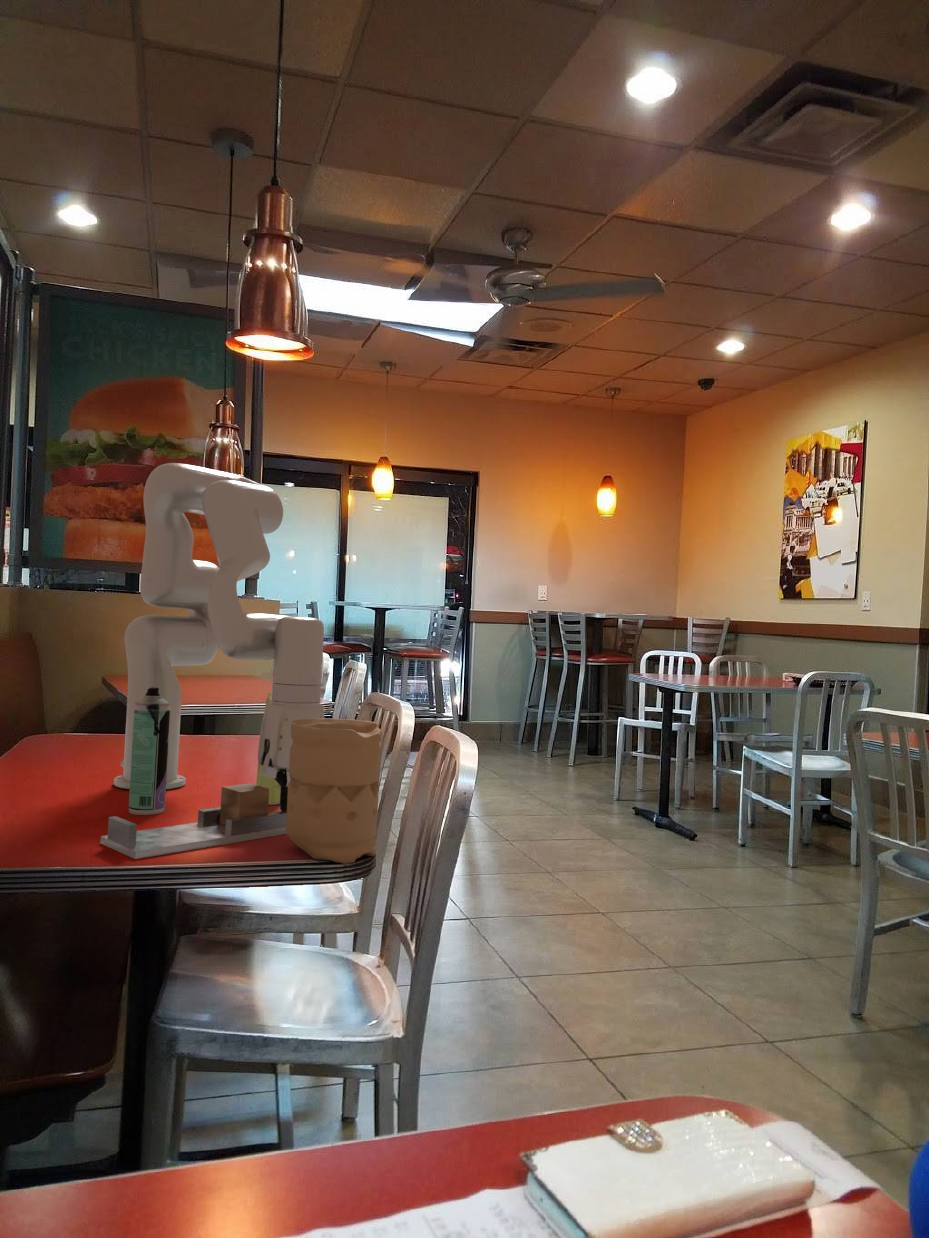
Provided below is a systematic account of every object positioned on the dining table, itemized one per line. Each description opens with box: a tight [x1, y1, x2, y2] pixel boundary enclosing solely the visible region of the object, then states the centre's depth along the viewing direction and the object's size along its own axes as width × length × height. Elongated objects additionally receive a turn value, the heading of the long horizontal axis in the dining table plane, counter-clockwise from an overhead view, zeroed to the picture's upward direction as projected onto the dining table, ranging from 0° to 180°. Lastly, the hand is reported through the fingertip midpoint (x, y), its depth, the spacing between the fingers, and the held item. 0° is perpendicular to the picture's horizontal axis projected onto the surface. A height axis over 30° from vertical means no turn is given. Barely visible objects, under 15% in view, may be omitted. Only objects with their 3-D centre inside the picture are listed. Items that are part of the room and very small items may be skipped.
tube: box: [255, 692, 281, 806], centre depth 153 cm, size 6×5×20 cm
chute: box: [100, 806, 287, 860], centre depth 127 cm, size 10×25×4 cm, turn 137°
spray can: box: [128, 687, 170, 816], centre depth 142 cm, size 6×6×20 cm
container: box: [286, 717, 383, 865], centre depth 122 cm, size 13×13×18 cm
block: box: [220, 783, 269, 825], centre depth 132 cm, size 5×5×6 cm
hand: (290, 811), depth 138 cm, fingers closed
